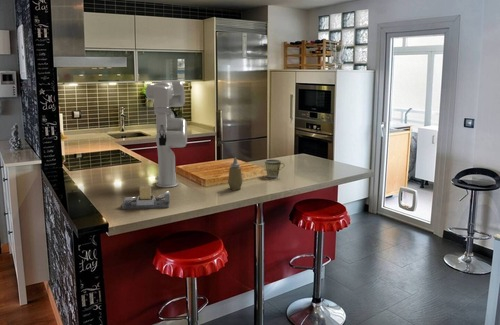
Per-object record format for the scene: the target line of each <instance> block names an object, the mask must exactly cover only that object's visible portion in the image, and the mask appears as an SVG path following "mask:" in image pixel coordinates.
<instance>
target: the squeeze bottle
mask: <svg viewBox="0 0 500 325" xmlns="http://www.w3.org/2000/svg"><path fill="white" fill-rule="evenodd" d="M230 166H231V167H230V168H229V170H228V180H227V184H228V187H229V189H230V190H233V191H234V190H235V191H237V190H240V189H241V188H242V185H243V176H242V175H243V173H242V167H240V163H238V159H237V157H233V162H232V163H231V164H230Z"/></svg>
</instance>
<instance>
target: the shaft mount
mask: <svg viewBox="0 0 500 325" xmlns="http://www.w3.org/2000/svg"><path fill="white" fill-rule="evenodd" d="M151 197H152V200H140V195H138V196H127V197H126V196H123V197H122V198H123V202H122V205H121V210H122V211H123V210H143V209H144V210H148V209H168V208H169V206H170V203H171V193H170V191H169V190H167V191H165V192H163V193H161V194H158V195H157V196H155V195H154V194H153V195H152V194H151Z"/></svg>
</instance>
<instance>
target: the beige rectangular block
mask: <svg viewBox="0 0 500 325" xmlns="http://www.w3.org/2000/svg"><path fill="white" fill-rule="evenodd" d="M139 196H140V200H152V197H151V196H152V185H140V187H139Z"/></svg>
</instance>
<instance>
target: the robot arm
mask: <svg viewBox="0 0 500 325" xmlns="http://www.w3.org/2000/svg"><path fill="white" fill-rule="evenodd" d="M145 96H146V99H148V100H151V101H153V110H154V112H153V113H154V115H156V119H155V120H156V135H155V142H156V148H157V157H158V160H157V161H158V166H157V167H158V175H157V176H156V177H155V180H156V181H157V182H156V183H155V184H156V186H157V187H159V188H174V187H177V186H178V185H179V181H177V180H176V156H175V152H174V151H173V150H172V148H173V149H174V148H185V147H186V146H187V144H188V125H187V124H188V123H187V120H186V119H185V118H183V117H175V114H174V112H173V110H172V109H170V107H171V108H172V107H173V108H175V107H176V108H180V107H184V106H185V103H186V92H185V86H184V84H183V82H182V81H181V80H167V79H166V80H162V81H160V82H156V83H149V84H147V86H145Z"/></svg>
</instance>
